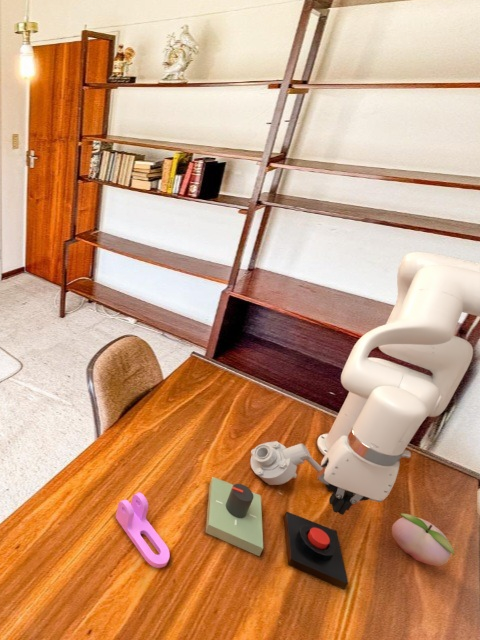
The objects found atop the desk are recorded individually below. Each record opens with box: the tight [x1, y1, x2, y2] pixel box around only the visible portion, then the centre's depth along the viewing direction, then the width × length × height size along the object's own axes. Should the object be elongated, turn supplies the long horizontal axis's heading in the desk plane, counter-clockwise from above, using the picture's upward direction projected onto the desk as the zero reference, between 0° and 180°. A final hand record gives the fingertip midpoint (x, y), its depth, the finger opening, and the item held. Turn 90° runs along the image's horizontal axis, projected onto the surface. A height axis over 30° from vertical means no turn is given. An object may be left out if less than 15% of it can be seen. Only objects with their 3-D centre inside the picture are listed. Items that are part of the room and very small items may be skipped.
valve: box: [250, 440, 333, 493], centre depth 102 cm, size 10×20×15 cm
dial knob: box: [226, 483, 254, 518], centre depth 91 cm, size 4×4×6 cm
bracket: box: [115, 491, 171, 569], centre depth 87 cm, size 13×6×7 cm, turn 26°
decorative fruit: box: [391, 512, 456, 567], centre depth 86 cm, size 9×8×10 cm
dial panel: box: [205, 476, 264, 557], centre depth 93 cm, size 14×11×3 cm
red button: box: [308, 528, 330, 549], centre depth 86 cm, size 4×4×2 cm
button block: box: [283, 511, 349, 590], centre depth 87 cm, size 12×10×4 cm
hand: (336, 507), depth 83 cm, fingers closed
